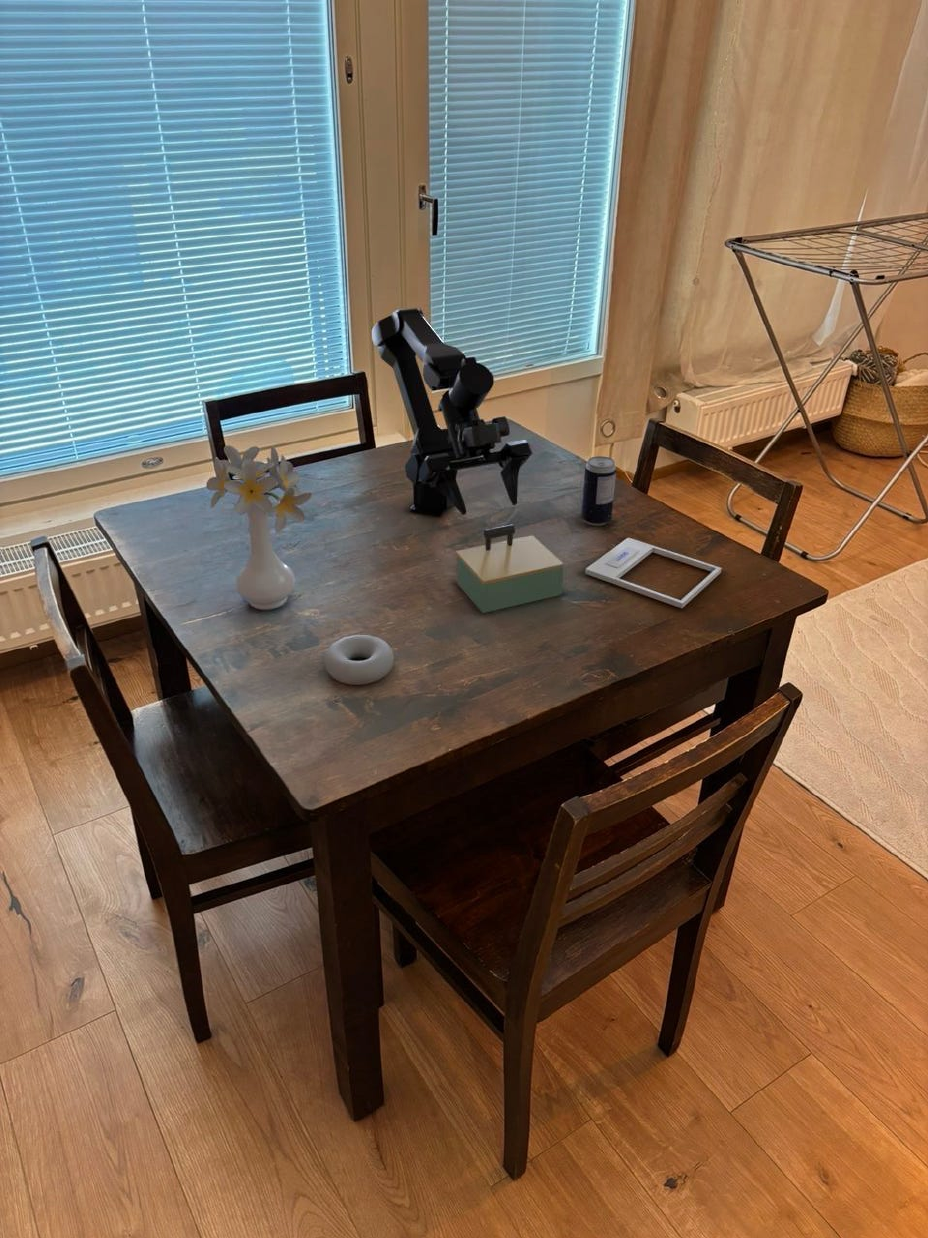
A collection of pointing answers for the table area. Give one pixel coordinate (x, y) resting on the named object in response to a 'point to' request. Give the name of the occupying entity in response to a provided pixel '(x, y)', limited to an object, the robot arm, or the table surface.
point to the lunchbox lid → (507, 556)
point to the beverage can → (598, 490)
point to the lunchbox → (509, 588)
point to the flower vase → (261, 519)
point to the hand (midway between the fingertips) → (490, 509)
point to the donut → (359, 671)
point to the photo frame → (631, 555)
